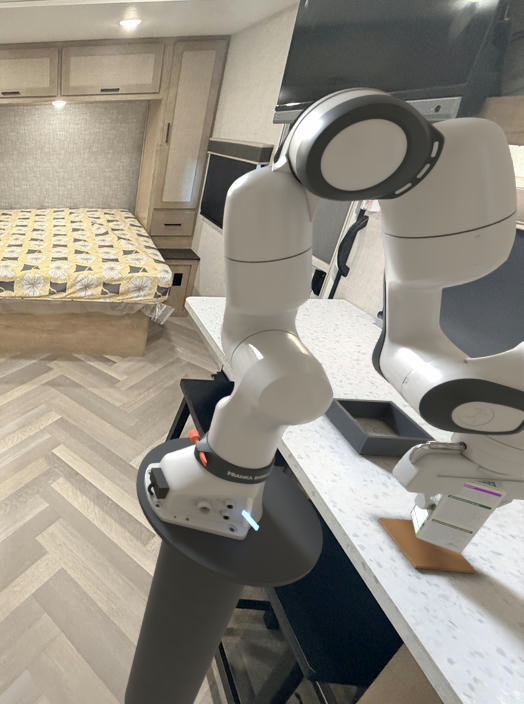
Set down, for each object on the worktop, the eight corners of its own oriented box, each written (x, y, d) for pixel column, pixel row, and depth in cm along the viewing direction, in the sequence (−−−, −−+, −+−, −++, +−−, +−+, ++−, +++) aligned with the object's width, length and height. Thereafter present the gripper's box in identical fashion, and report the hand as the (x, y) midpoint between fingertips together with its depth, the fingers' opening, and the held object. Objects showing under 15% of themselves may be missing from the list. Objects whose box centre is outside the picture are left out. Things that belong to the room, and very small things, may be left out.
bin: (358, 454, 87) (367, 437, 85) (324, 413, 99) (331, 397, 97) (426, 458, 86) (437, 441, 83) (383, 416, 98) (391, 400, 95)
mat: (414, 568, 65) (415, 565, 65) (377, 519, 73) (378, 517, 73) (474, 573, 64) (476, 571, 64) (430, 523, 72) (432, 521, 72)
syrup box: (462, 555, 64) (512, 493, 57) (413, 537, 66) (456, 476, 60) (452, 527, 68) (498, 467, 61) (407, 512, 71) (446, 452, 64)
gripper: (436, 457, 56) (395, 520, 63) (602, 466, 54) (541, 531, 60) (403, 426, 62) (369, 487, 68) (552, 434, 59) (502, 496, 66)
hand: (451, 508), depth 64 cm, fingers closed on syrup box, 7 cm apart
